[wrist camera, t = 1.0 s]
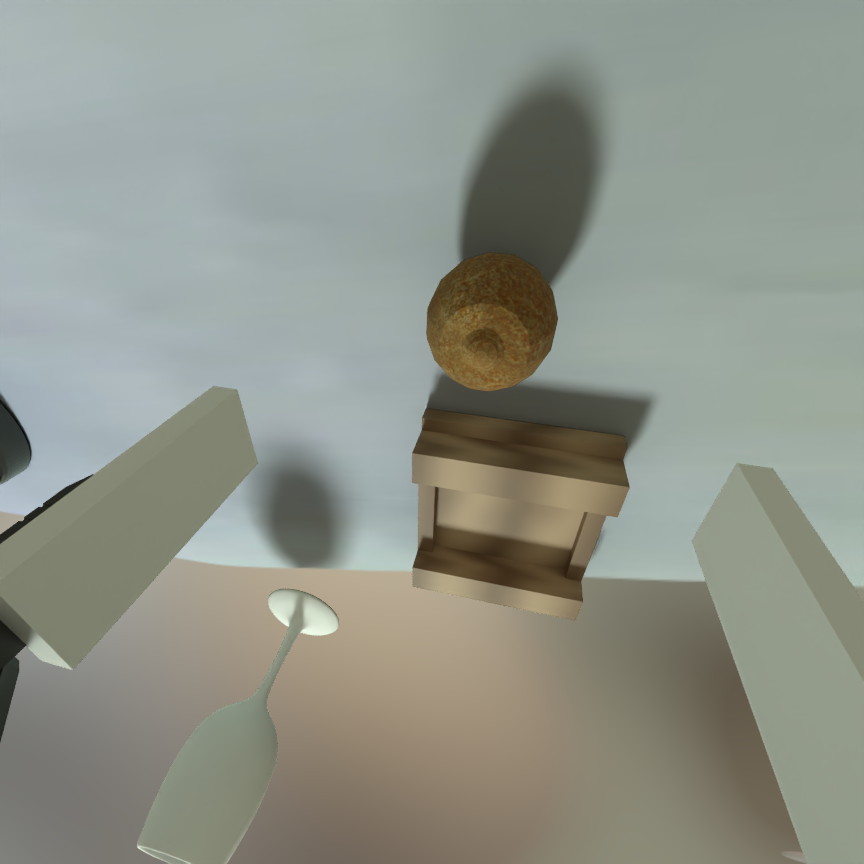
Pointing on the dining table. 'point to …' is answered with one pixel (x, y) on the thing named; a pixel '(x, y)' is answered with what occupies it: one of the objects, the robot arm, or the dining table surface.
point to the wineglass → (227, 759)
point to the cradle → (512, 508)
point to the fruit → (491, 321)
